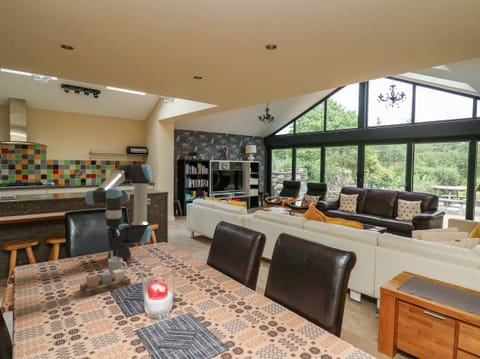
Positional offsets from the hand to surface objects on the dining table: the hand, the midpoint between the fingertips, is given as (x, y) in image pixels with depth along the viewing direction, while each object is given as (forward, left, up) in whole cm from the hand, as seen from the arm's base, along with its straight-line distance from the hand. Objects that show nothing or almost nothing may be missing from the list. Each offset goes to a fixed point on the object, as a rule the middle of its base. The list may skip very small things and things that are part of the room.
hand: (113, 261), depth 151 cm
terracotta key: (+11, 0, -10) cm, 15 cm away
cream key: (-2, 0, -10) cm, 10 cm away
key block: (+4, 0, -13) cm, 13 cm away
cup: (-9, -16, -13) cm, 22 cm away
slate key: (+4, 0, -10) cm, 11 cm away
